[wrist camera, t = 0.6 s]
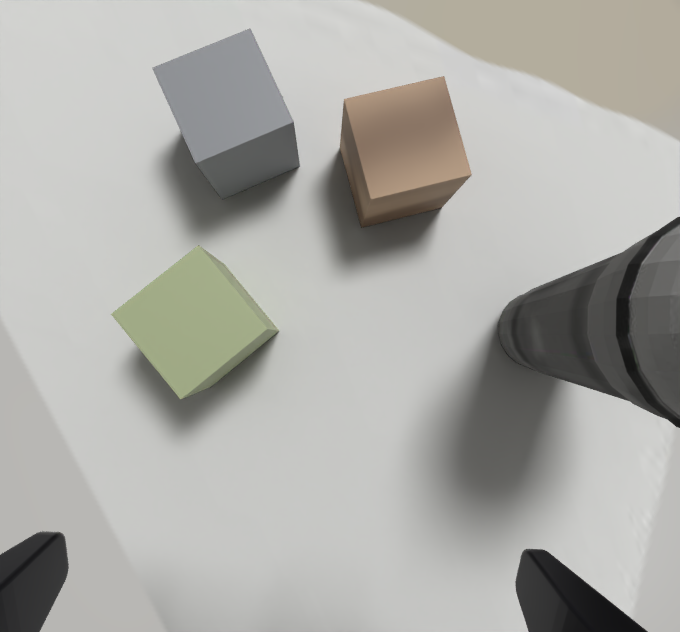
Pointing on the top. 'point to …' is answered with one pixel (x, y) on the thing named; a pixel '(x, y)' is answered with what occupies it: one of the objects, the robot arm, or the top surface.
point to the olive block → (195, 323)
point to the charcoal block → (230, 113)
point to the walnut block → (402, 151)
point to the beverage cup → (608, 325)
